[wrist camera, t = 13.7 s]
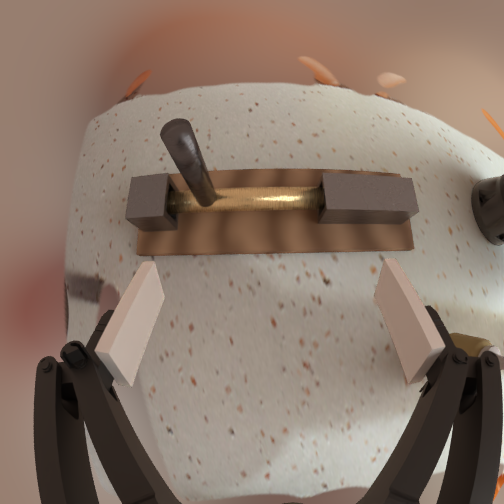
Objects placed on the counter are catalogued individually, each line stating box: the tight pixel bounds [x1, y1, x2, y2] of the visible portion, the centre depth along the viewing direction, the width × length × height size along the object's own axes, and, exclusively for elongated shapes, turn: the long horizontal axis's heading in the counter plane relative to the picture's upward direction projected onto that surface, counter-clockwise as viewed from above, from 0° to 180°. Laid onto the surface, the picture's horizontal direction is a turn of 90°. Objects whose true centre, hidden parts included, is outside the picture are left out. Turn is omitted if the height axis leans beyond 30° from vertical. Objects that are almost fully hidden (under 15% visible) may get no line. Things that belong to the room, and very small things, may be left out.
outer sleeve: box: [317, 173, 419, 224], centre depth 39 cm, size 15×6×6 cm, turn 91°
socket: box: [125, 173, 179, 232], centre depth 40 cm, size 6×7×7 cm
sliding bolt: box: [160, 118, 325, 214], centre depth 32 cm, size 27×3×19 cm, turn 91°
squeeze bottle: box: [449, 333, 504, 370], centre depth 28 cm, size 8×8×18 cm
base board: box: [137, 169, 414, 256], centre depth 43 cm, size 46×14×2 cm, turn 91°
